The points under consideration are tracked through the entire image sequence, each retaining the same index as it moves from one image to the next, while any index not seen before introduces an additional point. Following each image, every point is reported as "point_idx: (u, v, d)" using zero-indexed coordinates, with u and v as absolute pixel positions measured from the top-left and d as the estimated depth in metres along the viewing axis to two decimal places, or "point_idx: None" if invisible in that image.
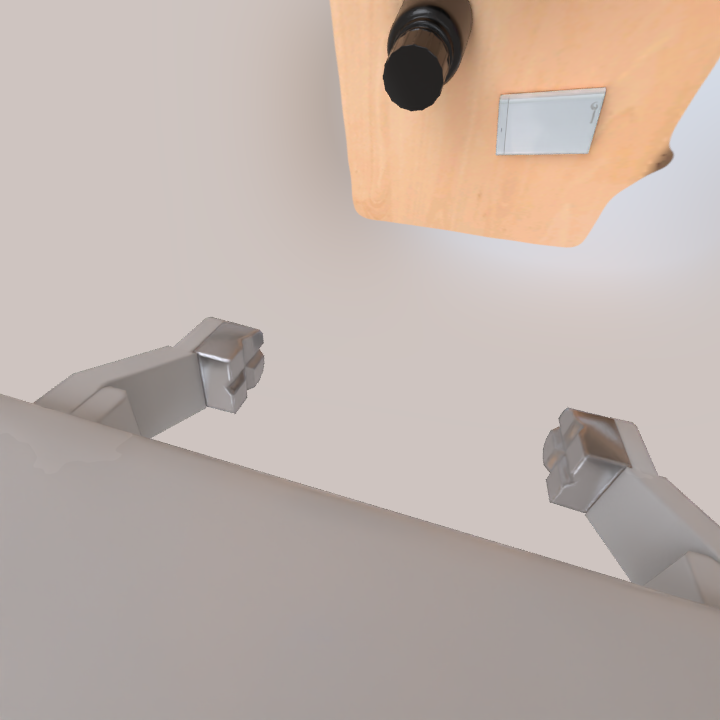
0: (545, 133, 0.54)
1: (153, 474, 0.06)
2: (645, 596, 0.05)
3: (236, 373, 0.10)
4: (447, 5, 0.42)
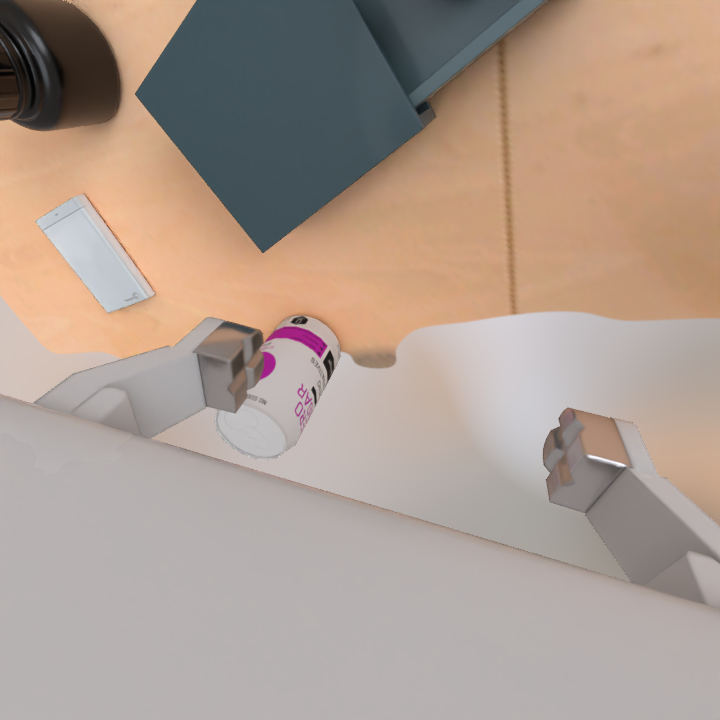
0: (89, 264, 0.46)
1: (153, 474, 0.06)
2: (645, 596, 0.05)
3: (236, 373, 0.10)
4: (73, 81, 0.31)
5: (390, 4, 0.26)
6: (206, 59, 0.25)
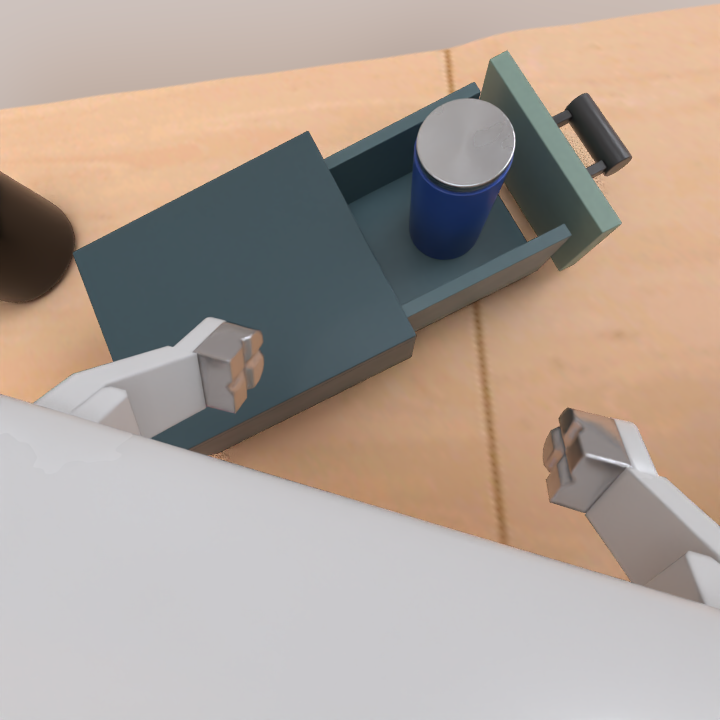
0: None
1: (153, 474, 0.06)
2: (645, 596, 0.05)
3: (236, 373, 0.10)
4: (5, 242, 0.26)
5: (377, 254, 0.27)
6: (178, 235, 0.22)
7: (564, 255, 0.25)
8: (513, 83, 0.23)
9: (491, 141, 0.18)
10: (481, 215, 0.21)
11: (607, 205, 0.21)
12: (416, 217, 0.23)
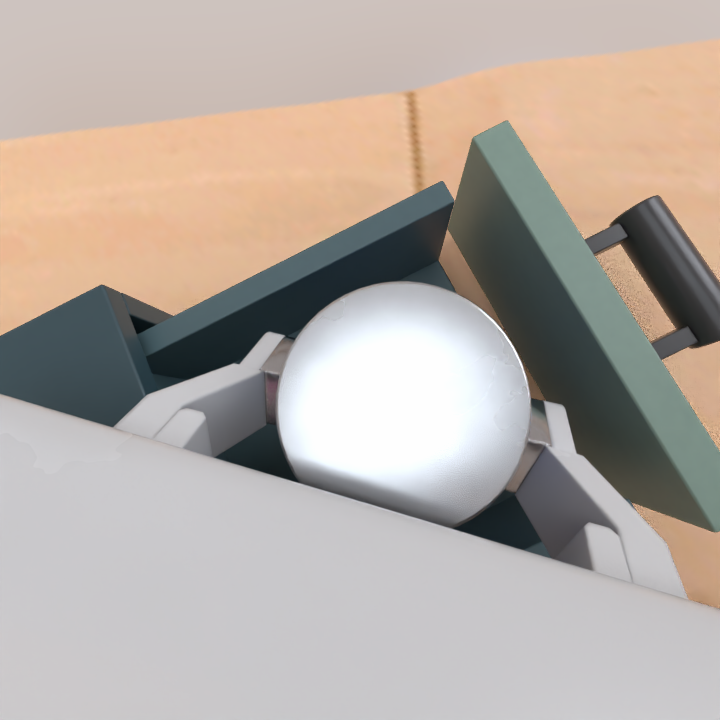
0: None
1: (153, 474, 0.06)
2: (645, 596, 0.05)
3: None
4: None
5: (281, 455, 0.16)
6: None
7: (611, 484, 0.14)
8: (520, 188, 0.11)
9: (467, 407, 0.07)
10: None
11: None
12: None
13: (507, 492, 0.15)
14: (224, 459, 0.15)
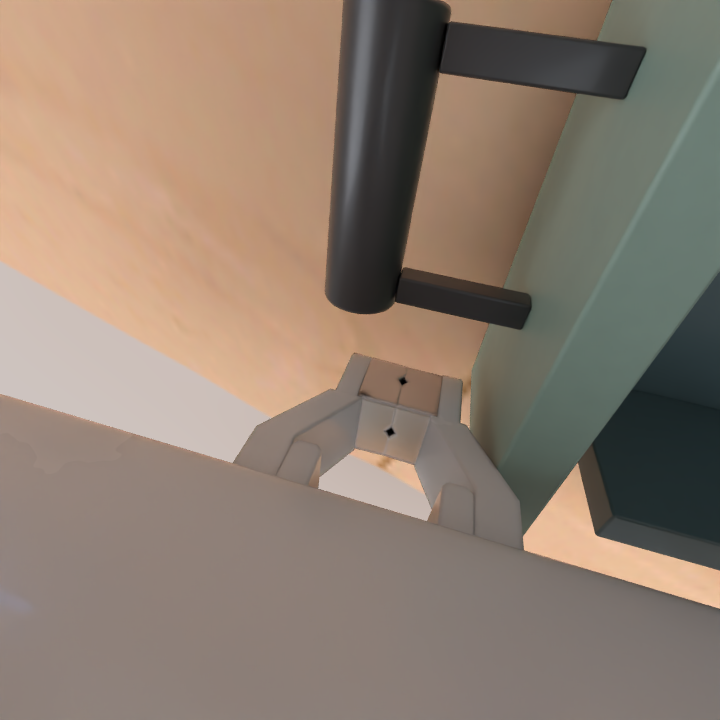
0: None
1: (153, 474, 0.06)
2: (645, 596, 0.05)
3: None
4: None
5: None
6: None
7: None
8: (539, 480, 0.07)
9: None
10: None
11: None
12: None
13: None
14: None
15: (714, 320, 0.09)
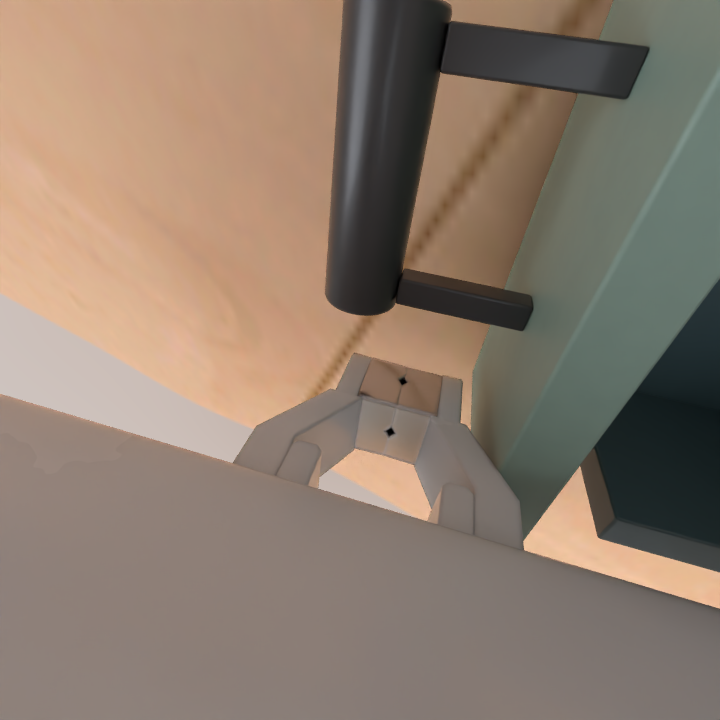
0: None
1: (153, 474, 0.06)
2: (645, 596, 0.05)
3: None
4: None
5: None
6: None
7: None
8: (542, 483, 0.07)
9: None
10: None
11: None
12: None
13: None
14: None
15: (717, 321, 0.09)
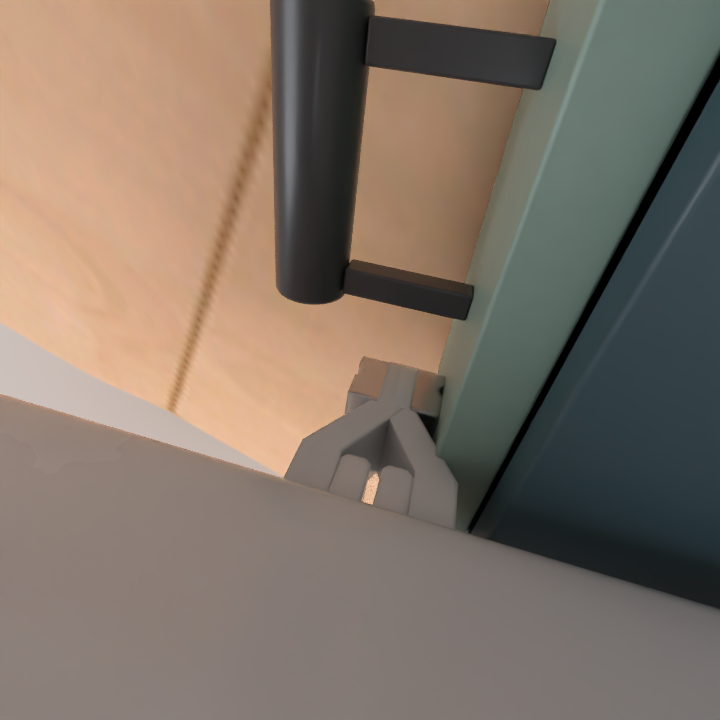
0: None
1: (153, 474, 0.06)
2: (645, 596, 0.05)
3: None
4: None
5: None
6: None
7: None
8: (477, 469, 0.07)
9: None
10: None
11: None
12: None
13: None
14: None
15: None
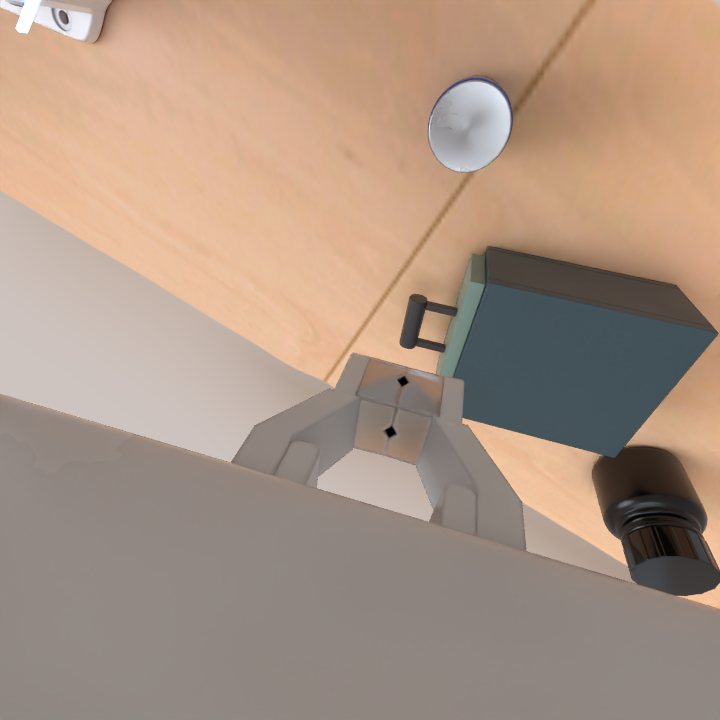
0: None
1: (153, 474, 0.06)
2: (645, 596, 0.05)
3: None
4: (640, 485, 0.39)
5: None
6: (554, 422, 0.34)
7: None
8: None
9: (453, 114, 0.22)
10: None
11: (467, 296, 0.30)
12: None
13: None
14: None
15: None
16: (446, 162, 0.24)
